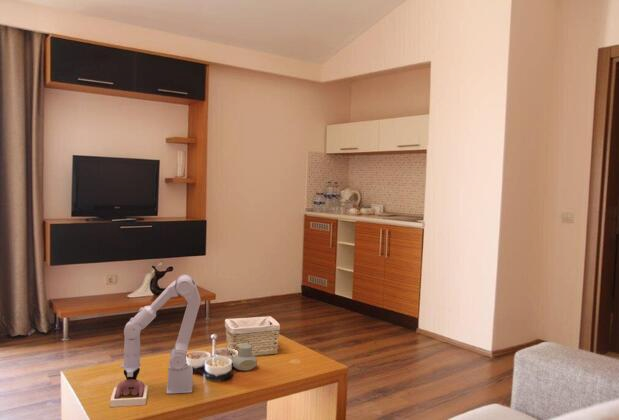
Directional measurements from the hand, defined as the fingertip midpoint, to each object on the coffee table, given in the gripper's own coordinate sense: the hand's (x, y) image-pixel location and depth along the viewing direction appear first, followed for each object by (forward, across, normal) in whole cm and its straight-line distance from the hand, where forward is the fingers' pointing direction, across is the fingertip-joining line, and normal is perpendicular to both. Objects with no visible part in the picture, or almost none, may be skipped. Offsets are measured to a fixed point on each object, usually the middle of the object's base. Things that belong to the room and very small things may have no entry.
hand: (131, 388), depth 198 cm
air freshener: (+2, -19, +45) cm, 49 cm away
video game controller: (+2, +4, 0) cm, 4 cm away
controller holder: (+1, +5, 0) cm, 5 cm away
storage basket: (+2, -40, +50) cm, 65 cm away
